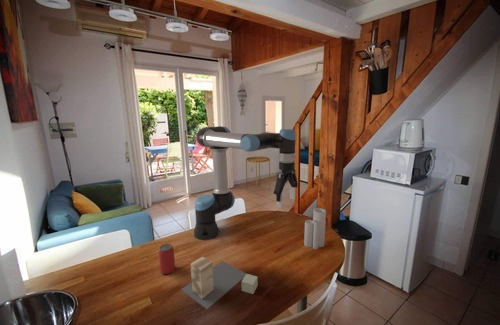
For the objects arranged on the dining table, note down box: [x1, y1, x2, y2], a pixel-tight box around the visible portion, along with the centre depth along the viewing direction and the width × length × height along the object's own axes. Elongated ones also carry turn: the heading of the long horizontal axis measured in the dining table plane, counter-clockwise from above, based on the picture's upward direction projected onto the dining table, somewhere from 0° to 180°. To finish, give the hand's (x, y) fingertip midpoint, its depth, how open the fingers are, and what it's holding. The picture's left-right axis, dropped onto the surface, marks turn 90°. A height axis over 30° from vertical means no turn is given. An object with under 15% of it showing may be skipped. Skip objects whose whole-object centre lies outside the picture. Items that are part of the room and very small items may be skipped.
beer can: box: [158, 243, 176, 275], centre depth 106 cm, size 7×7×12 cm
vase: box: [303, 207, 327, 250], centre depth 124 cm, size 11×7×20 cm, turn 112°
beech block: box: [190, 256, 214, 299], centre depth 91 cm, size 6×6×13 cm
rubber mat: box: [181, 260, 247, 310], centre depth 98 cm, size 16×24×1 cm, turn 142°
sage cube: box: [241, 273, 259, 295], centre depth 94 cm, size 5×5×5 cm
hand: (286, 203), depth 114 cm, fingers open, 13 cm apart
